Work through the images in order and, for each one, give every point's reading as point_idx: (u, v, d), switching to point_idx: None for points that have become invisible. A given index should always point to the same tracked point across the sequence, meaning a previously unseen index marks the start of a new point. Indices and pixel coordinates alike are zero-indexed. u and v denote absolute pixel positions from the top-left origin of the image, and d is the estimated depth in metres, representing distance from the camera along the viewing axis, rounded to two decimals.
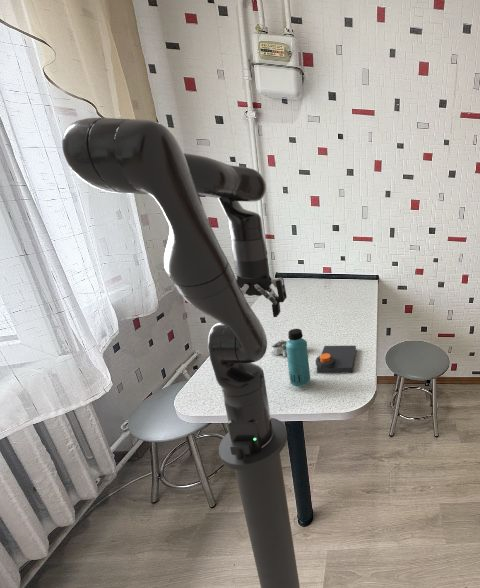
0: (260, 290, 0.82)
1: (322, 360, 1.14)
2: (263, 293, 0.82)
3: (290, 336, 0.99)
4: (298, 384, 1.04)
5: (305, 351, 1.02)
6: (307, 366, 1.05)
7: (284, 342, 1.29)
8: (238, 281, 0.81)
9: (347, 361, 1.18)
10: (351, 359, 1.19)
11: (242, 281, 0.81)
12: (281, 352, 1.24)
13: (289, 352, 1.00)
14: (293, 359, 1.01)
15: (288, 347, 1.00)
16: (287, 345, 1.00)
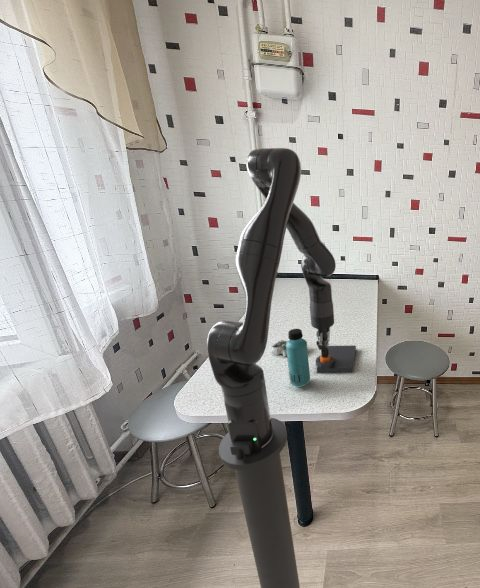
0: None
1: (322, 361, 1.14)
2: None
3: (290, 336, 0.99)
4: (298, 384, 1.04)
5: (305, 351, 1.02)
6: (307, 366, 1.05)
7: (284, 342, 1.29)
8: None
9: (347, 361, 1.18)
10: (351, 359, 1.19)
11: None
12: (281, 352, 1.24)
13: (289, 352, 1.00)
14: (293, 359, 1.01)
15: (288, 347, 1.00)
16: (287, 345, 1.00)
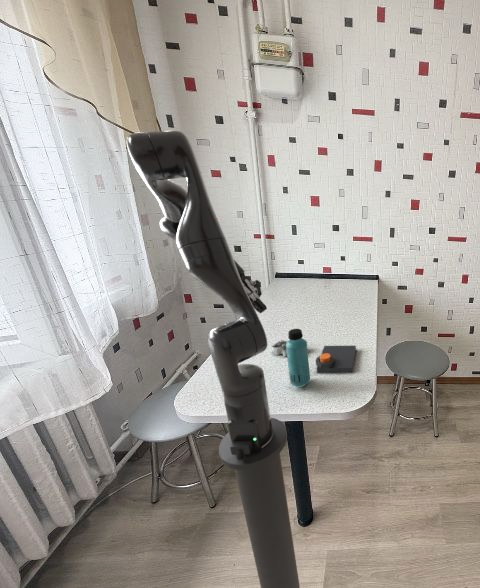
0: None
1: (322, 360, 1.14)
2: None
3: (290, 336, 0.99)
4: (298, 384, 1.04)
5: (305, 351, 1.02)
6: (307, 366, 1.05)
7: (284, 342, 1.29)
8: None
9: (347, 361, 1.18)
10: (351, 359, 1.19)
11: None
12: (281, 352, 1.24)
13: (289, 352, 1.00)
14: (293, 359, 1.01)
15: (288, 347, 1.00)
16: (287, 345, 1.00)
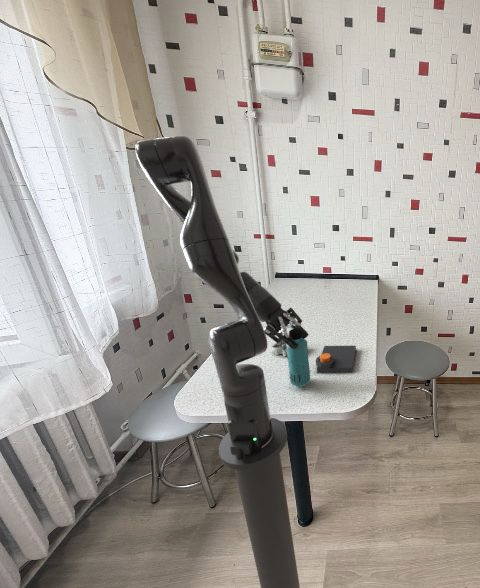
0: None
1: (322, 360, 1.14)
2: None
3: (290, 335, 0.99)
4: (298, 384, 1.04)
5: (305, 351, 1.02)
6: (307, 366, 1.05)
7: (284, 342, 1.29)
8: None
9: (347, 361, 1.18)
10: (351, 359, 1.19)
11: None
12: (281, 352, 1.24)
13: (289, 352, 1.00)
14: (293, 358, 1.01)
15: (288, 347, 1.00)
16: (287, 345, 1.00)
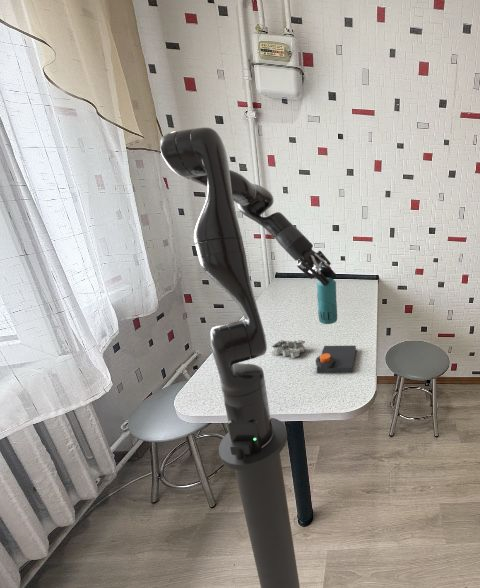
0: None
1: (322, 360, 1.14)
2: None
3: (322, 273, 1.06)
4: (327, 322, 1.11)
5: (334, 290, 1.09)
6: (335, 305, 1.12)
7: (284, 342, 1.29)
8: None
9: (347, 361, 1.18)
10: (351, 359, 1.19)
11: None
12: (281, 352, 1.24)
13: (320, 289, 1.07)
14: (323, 296, 1.08)
15: (319, 284, 1.07)
16: (318, 283, 1.07)
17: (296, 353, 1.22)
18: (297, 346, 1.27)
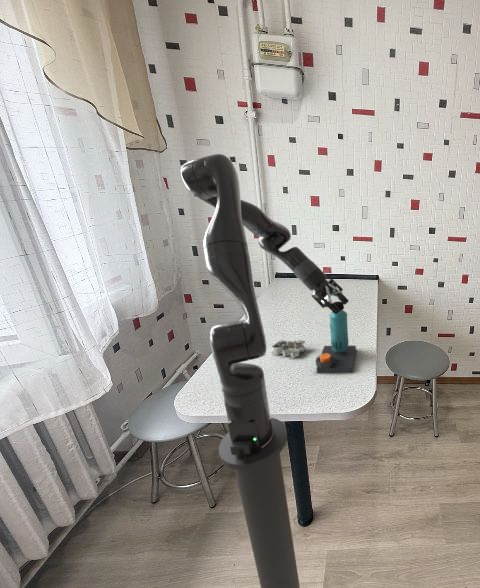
0: None
1: (322, 360, 1.14)
2: None
3: None
4: (339, 350, 1.20)
5: (346, 321, 1.18)
6: (347, 334, 1.21)
7: (284, 342, 1.29)
8: None
9: (347, 361, 1.18)
10: (351, 359, 1.19)
11: None
12: (281, 352, 1.24)
13: (333, 321, 1.16)
14: (336, 327, 1.17)
15: (332, 317, 1.16)
16: (331, 315, 1.16)
17: (296, 353, 1.22)
18: (297, 346, 1.27)
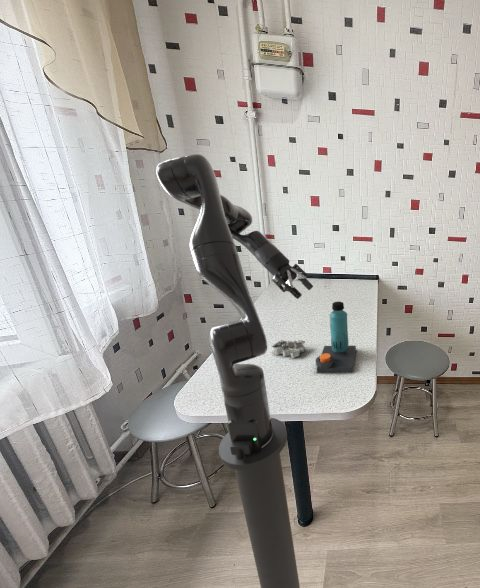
0: None
1: (322, 360, 1.14)
2: None
3: (334, 307, 1.15)
4: (339, 350, 1.20)
5: (346, 321, 1.18)
6: (347, 334, 1.21)
7: (284, 342, 1.29)
8: None
9: (347, 361, 1.18)
10: (351, 359, 1.19)
11: None
12: (281, 352, 1.24)
13: (333, 321, 1.16)
14: (336, 327, 1.17)
15: (332, 317, 1.16)
16: (331, 315, 1.16)
17: (296, 353, 1.22)
18: (297, 346, 1.27)
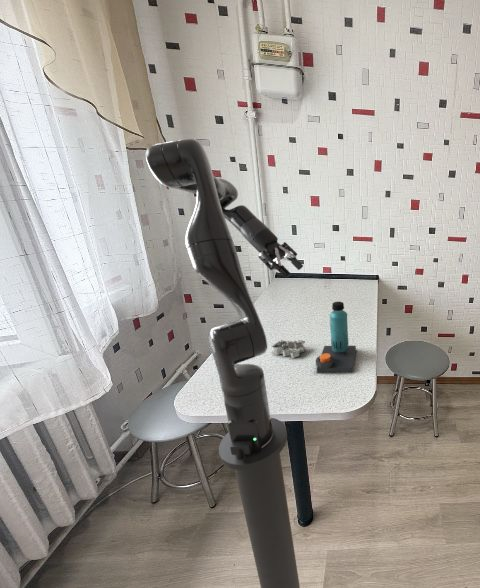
0: None
1: (322, 360, 1.14)
2: None
3: (334, 307, 1.15)
4: (339, 350, 1.20)
5: (346, 321, 1.18)
6: (347, 334, 1.21)
7: (284, 342, 1.29)
8: None
9: (347, 361, 1.18)
10: (351, 359, 1.19)
11: None
12: (281, 352, 1.24)
13: (333, 321, 1.16)
14: (336, 327, 1.17)
15: (332, 317, 1.16)
16: (331, 315, 1.16)
17: (296, 353, 1.22)
18: (297, 346, 1.27)
